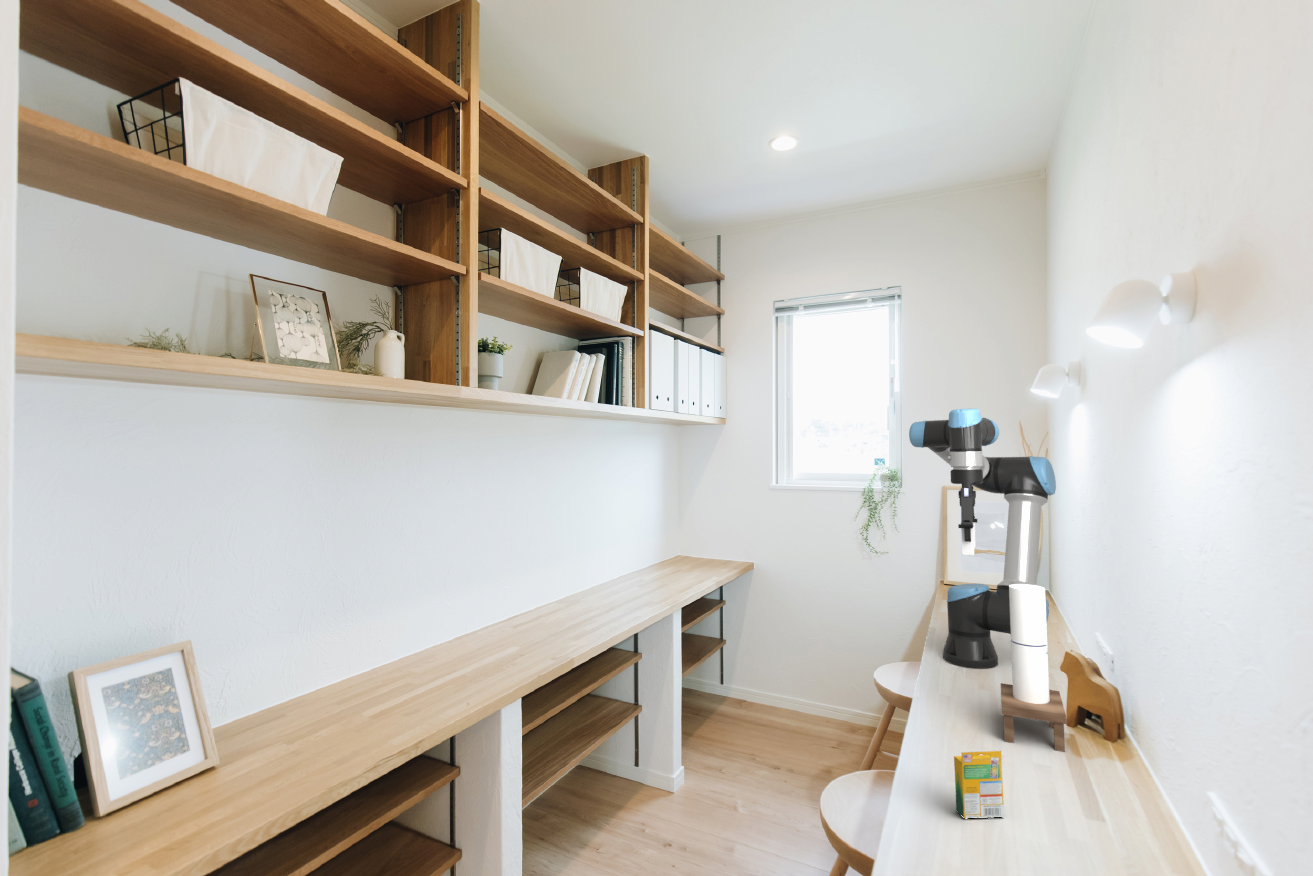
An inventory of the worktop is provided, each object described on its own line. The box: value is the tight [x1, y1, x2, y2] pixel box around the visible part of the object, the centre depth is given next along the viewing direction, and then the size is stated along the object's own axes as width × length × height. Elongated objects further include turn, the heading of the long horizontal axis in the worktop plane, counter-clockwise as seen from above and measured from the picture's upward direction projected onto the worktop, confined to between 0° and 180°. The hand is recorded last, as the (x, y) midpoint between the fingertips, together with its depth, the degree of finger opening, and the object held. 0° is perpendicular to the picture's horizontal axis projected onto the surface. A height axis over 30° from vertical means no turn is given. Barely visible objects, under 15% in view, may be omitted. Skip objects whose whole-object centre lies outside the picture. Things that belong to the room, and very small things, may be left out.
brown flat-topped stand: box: [1000, 682, 1067, 753], centre depth 142 cm, size 15×12×8 cm
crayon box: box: [953, 750, 1005, 818], centre depth 111 cm, size 7×3×12 cm, turn 92°
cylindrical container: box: [1009, 584, 1050, 704], centre depth 143 cm, size 7×7×25 cm
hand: (969, 551), depth 161 cm, fingers open, 13 cm apart
